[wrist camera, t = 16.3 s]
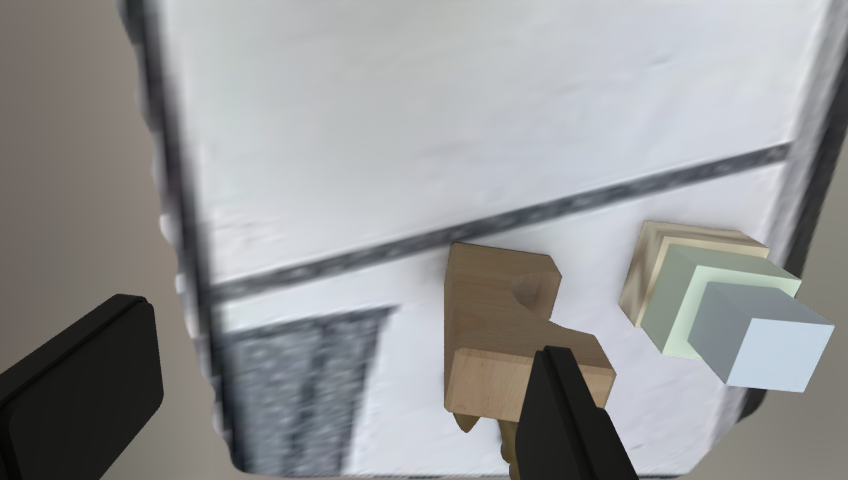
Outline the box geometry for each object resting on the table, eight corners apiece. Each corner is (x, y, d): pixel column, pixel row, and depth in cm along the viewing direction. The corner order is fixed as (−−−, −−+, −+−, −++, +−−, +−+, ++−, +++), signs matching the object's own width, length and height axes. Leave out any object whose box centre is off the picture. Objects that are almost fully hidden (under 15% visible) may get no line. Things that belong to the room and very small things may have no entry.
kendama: (491, 464, 61) (432, 349, 54) (561, 443, 59) (508, 321, 52) (498, 506, 55) (432, 383, 48) (575, 483, 53) (518, 353, 47)
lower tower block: (642, 219, 47) (664, 236, 43) (738, 230, 47) (770, 248, 43) (617, 303, 51) (634, 327, 46) (706, 313, 51) (732, 338, 46)
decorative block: (553, 255, 49) (621, 373, 30) (540, 301, 51) (596, 439, 32) (452, 238, 48) (457, 347, 30) (442, 285, 51) (442, 414, 32)
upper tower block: (669, 243, 43) (697, 265, 38) (763, 257, 43) (802, 280, 38) (639, 324, 46) (661, 354, 41) (726, 337, 46) (758, 368, 41)
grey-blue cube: (707, 281, 39) (752, 318, 33) (778, 288, 39) (835, 325, 33) (687, 341, 41) (725, 385, 35) (753, 347, 41) (803, 392, 35)
